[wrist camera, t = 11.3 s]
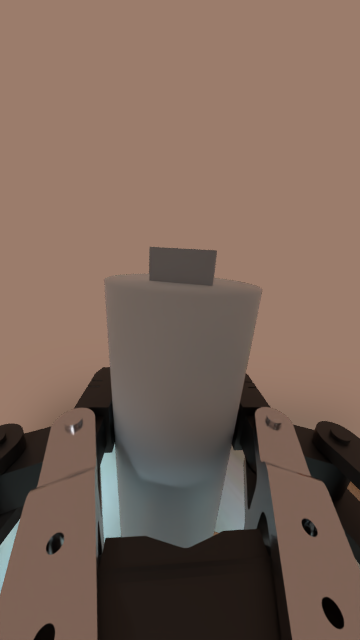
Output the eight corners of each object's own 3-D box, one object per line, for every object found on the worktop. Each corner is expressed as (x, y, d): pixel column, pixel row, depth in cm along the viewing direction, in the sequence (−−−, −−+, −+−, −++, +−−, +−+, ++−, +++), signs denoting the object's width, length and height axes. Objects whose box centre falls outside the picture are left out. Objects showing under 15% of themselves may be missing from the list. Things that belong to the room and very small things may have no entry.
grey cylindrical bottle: (213, 479, 12) (252, 256, 8) (211, 612, 8) (302, 250, 3) (142, 460, 13) (141, 250, 9) (101, 571, 8) (54, 237, 4)
